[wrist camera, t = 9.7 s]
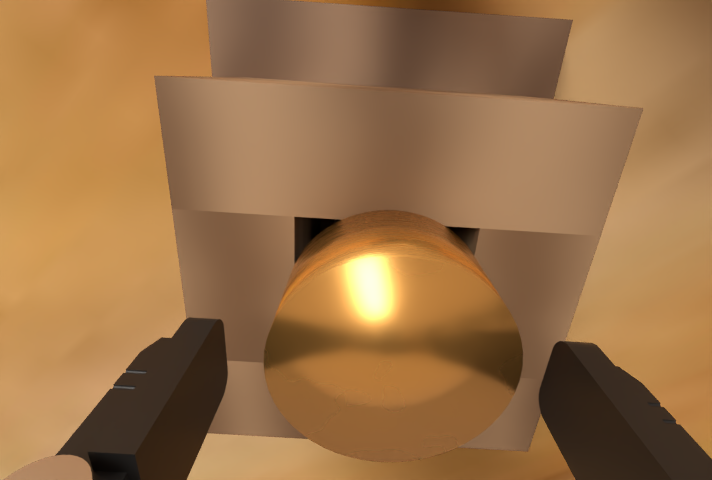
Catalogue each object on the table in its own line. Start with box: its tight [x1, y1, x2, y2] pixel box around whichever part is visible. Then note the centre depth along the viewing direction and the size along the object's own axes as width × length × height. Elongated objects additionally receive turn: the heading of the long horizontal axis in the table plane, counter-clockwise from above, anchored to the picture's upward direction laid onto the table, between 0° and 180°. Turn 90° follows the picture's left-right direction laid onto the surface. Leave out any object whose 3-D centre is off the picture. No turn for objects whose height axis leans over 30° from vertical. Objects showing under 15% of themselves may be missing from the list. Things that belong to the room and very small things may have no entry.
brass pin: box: [264, 210, 523, 462], centre depth 13 cm, size 6×6×10 cm
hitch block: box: [154, 0, 643, 451], centre depth 16 cm, size 15×18×10 cm
